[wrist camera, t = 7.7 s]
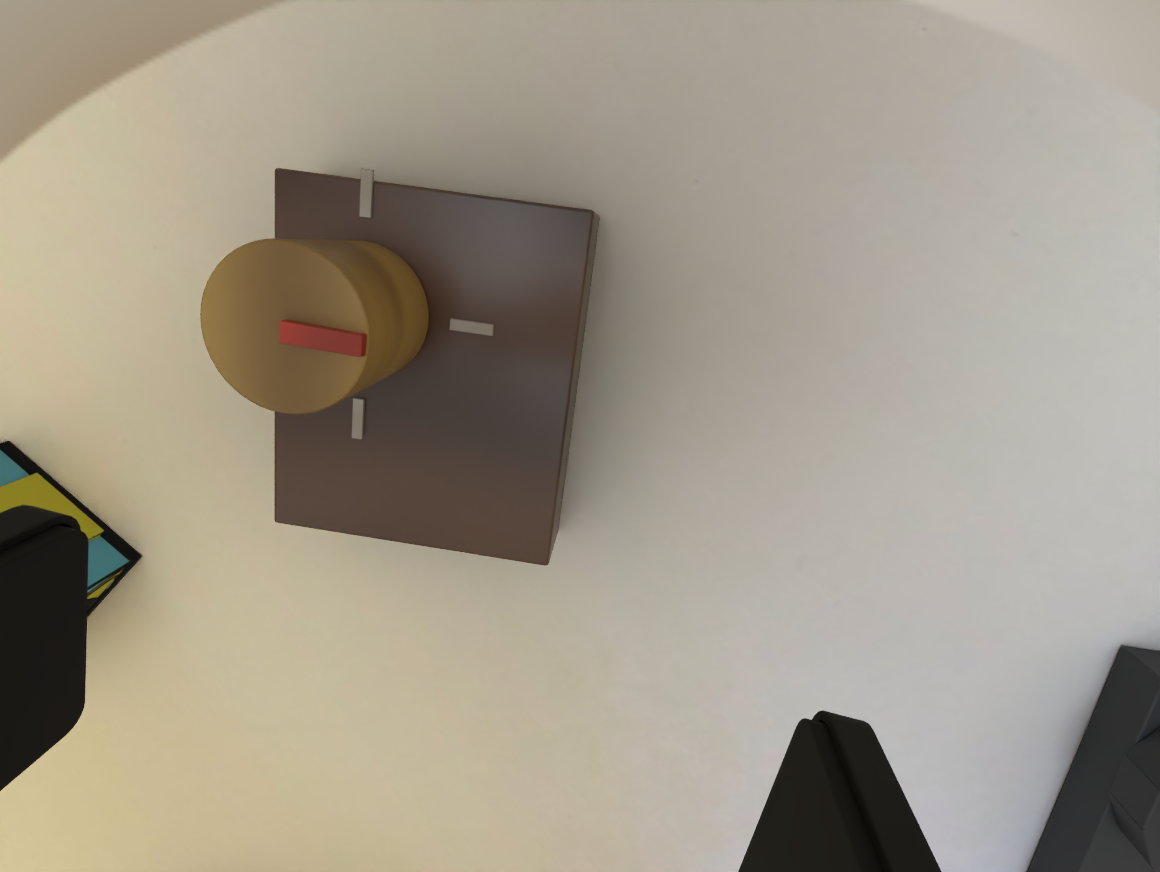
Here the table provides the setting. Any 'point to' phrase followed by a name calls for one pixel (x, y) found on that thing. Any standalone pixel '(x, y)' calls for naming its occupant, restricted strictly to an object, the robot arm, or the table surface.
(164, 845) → the table surface
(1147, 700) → the button block
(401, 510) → the panel
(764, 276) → the table surface
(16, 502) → the carton
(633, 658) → the table surface
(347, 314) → the knob
